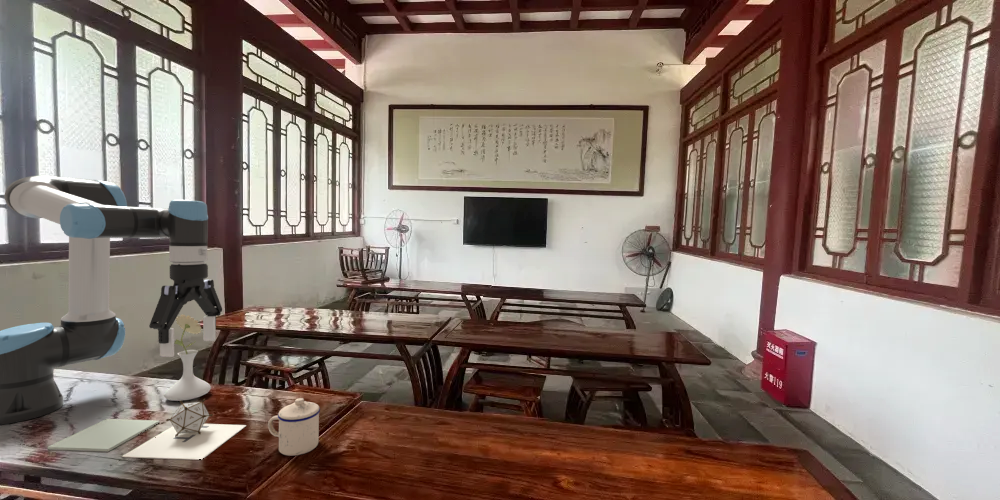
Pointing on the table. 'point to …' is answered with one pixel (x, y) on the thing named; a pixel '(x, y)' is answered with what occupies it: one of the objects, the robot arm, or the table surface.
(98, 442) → the sage mat
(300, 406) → the teacup with lid
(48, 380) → the robot arm
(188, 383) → the flower in vase
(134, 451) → the card
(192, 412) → the game die
